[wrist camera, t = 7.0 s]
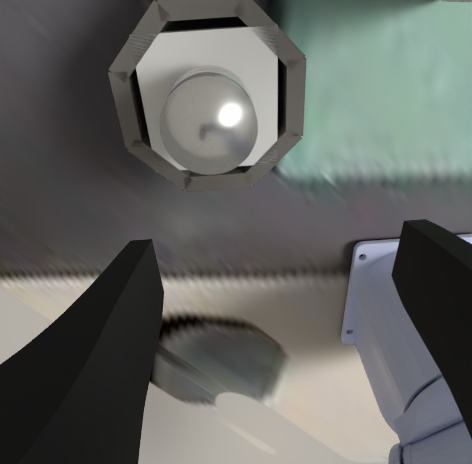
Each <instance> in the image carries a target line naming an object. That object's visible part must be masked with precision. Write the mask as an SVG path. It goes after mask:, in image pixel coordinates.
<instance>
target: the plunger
mask: <svg viewBox="0 0 472 464" xmlns="http://www.w3.org/2000/svg"><path fill="white" fill-rule="evenodd" d="M159 129H160V135H161V139H162V142H163V145H164V147H165V148H166V150H167V152H168V153H169V155H170V156H171V157H172V158H173V159H174V160H175V161H176V162H177V163H178V164H179V165H181V166H182V167H184V168H186V169H188V170H190V171H192V172H195V173H199V174H205V175H215V174H221V173H225V172H228V171H230V170H232V169H234V168H236V167H237V166H239V165H240V164H241V163H242V162H244V161H245V160H246V158H247V157H248V156H249V155H250V153H251V151H252V150H253V148H254V145H255V142H256V139H257V134H258V122H257V116H256V112H255V109H254V105H253V101H252V98H251V95H250V92H249V90H248V88H247V87H246V85H245V84H244V82H243V81H242V80H241V79H240V78H239V77H238V76H237V75H235V74H234V73H232V72H231V71H229V70H227V69H225V68H222V67H218V66H199V67H196V68H193V69H191V70H189V71H187V72H186V73H184V74H183V75H182V76H180V77H179V78H178V80H177V81H176V82H175V83H174V85H173V86H172V88H171V90H170V93H169V95H168V97H167V99H166V101H165V103H164V106H163V108H162V111H161V114H160V120H159Z"/></svg>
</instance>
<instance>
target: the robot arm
mask: <svg viewBox="0 0 472 464" xmlns="http://www.w3.org/2000/svg"><path fill="white" fill-rule="evenodd" d="M361 254H364V255H363V256H361V257H359V256H360V255H361ZM163 299H164V290H163V286H162V281H161V277H160V273H159V268H158V264H157V260H156V255H155V251H154V247H153V242H152V239H148V240H134V241H130V242H129V243H128V244H127V245H126V246H125V247H124V249H123V250H122V251H121V252H120V253H119V254H118V255H117V257H116V258H115V259H114V260H113V261H112V262H111V263H110V265H109V266H108V267H107V268H106V269H105V270H104V271H103V273H102V274H101V275H100V276H99V277H98V278H97V279H96V280H95V281H94V282H93V283H92V285H91V286H90V287H89V288H88V289H87V290H86V291H85V292H84V293H83V294H82V295H81V296H80V297H79V298H78V299H77V300H76V301H75V302H74V303H73V304H72V305H71V306H70V307H69V308H68V309H67V310H66V311H65V312H64V313H63V314H62V315H61V316H60V317H59V318H58V319H56V320H55V321H54V322H53V323H52V324H51V325H50V326H49V327H48V328H46V329H45V330H44V331H43V332H42V333H40V334H39V335H38V336H37V337H36V338H34V339H33V340H32V341H31V342H30V343H28V344H27V345H26V346H25V347H23V348H22V349H21V350H19V351H18V352H17V353H15V354H14V355H13V356H11V357H10V358H9V359H7V360H6V361H5V362H3V363H2V364H0V464H138V459H139V448H140V439H141V430H142V420H143V412H144V406H145V400H146V395H147V390H148V385H149V380H150V376H151V371H152V366H153V362H154V357H155V352H156V348H157V343H158V338H159V333H160V328H161V323H162V312H163ZM341 341H342V343H343V344H345V345H353V344H356V347H357V350H358V353H359V355H360V358H361V361H362V363H363V366H364V369H365V371H366V374H367V377H368V379H369V382H370V385H371V387H372V390H373V393H374V395H375V398H376V401H377V404H378V406H379V409H380V411H381V413H382V415H383V418H384V419H385V421H386V422H387V424H388V425H389V426H390V427H391V429H392V430H393V431H394V432H395V433H396V434H397V435H398V437H399V440H400V443H398V444H396V445H394V446H393V447H392V448H391V450H390V453H389V463H388V464H472V234H463V235H455V234H453V233H451V232H449V231H448V230H446V229H444V228H442V227H440V226H438V225H436V224H434V223H432V222H430V221H428V220H426V219H424V220H410V221H404V223H403V228H402V232H401V236H400V239H389V240H375V241H362V242H359V243H357V244H356V245H355V247H354V251H353V258H352V264H351V271H350V278H349V284H348V291H347V298H346V305H345V311H344V318H343V325H342V332H341Z"/></svg>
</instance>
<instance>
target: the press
mask: <svg viewBox="0 0 472 464" xmlns="http://www.w3.org/2000/svg"><path fill="white" fill-rule="evenodd" d="M199 66H218V67H222V68H225V69H227V70H229V71H231V72H232V73H234V74H235V75H237V76H238V77H239V78H240V79H241V80H242V81H243V82H244V84H245V85H246V87H247V88H248V90H249V92H250V95H251V98H252V101H253V105H254V109H255V112H256V116H257V122H258V134H257V139H256V142H255V145H254V148H253V150H252V151H251V153H250V155H249V156H248V157H247V158H246V160H245V161H244V162H242V163H241V164H240V165H239V166H237V167H236V168H234V169H232V170H230V171H228V172H225V173H221V174H215V175H205V174H199V173H195V172H192V171H190V170H188V169H186V168H184V167H182V166H181V165H179V164H178V163H177V162H176V161H175V160H174V159H173V158H172V157H171V156H170V155H169V153H168V152H167V150H166V148H165V147H164V145H163V142H162V139H161V135H160V129H159V120H160V114H161V111H162V108H163V106H164V103H165V101H166V99H167V97H168V95H169V93H170V90H171V88H172V86H173V85H174V83H175V82H176V81H177V80H178V78H179V77H180V76H182V75H183V74H184V73H186V72H187V71H189V70H191V69H193V68H196V67H199ZM108 70H110V71H109V72H108V75H109V80H110V84H111V88H112V92H113V97H114V101H115V105H116V109H117V114H118V118H119V122H120V126H121V130H122V135H123V139H124V143H125V147H126V148H128V150H127V151H129V152H130V153H132V154H133V155H134V156H136V157H137V158H139V159H140V160H141V161H143V162H144V163H145V164H147V165H148V166H150V167H151V168H152V169H154V170H155V171H156V172H158V173H159V174H161V175H162V176H163V177H165V178H166V179H168V180H169V181H170V182H172V183H173V184H175V185H176V186H177V187H179V188H180V189H181V190H183V191H184V190H185V189H186V192H191V191H205V190H220V189H234V188H249V187H251V185H253V186H254V185H255V184H256V183H257V182H258V181H259V180H260V179H261V178H262V177H263V176H264V175H265V174H266V173H267V172H268V171H269V170H270V169H271V168H272V167H274V166H275V165H276V164H277V163H278V162H279V161H280V160H281V159H282V158H283V157H284V156H285V155H286V154H287V153H288V152H289V151H290V150H291V149H292V148H293V147H294V146H295V145H296V144H297V143H298V142H299V141H300V140H301V139H302V138H301V136H303V123H304V100H305V77H306V58H305V55H304V54H303V53H302V52H301V51H300V50H299V49H298V47H297V46H296V45H295V44H294V43H293V42H292V41H291V40H290V39H289V38H288V37H287V36H286V35H285V34H284V32H283V31H282V30H281V29H280V28H279V27H278V25H277V24H275V23H274V22H273V21H272V20H271V18H270V17H269V16H268V15H267V14H266V13H265V12H264V11H263V10H262V9H261V8H260V7H259V6H258V5H257V3H256V2H255V1H254V0H153V2H152V3H151V5H150V7H149V8H148V10H147V11H146V13H145V14H144V16H143V17H142V19H141V20H140V22H139V23H138V25H137V26H136V28H135V29H134V31H133V33H132V34H131V35H130V37H129V39H128V40H127V42H126V43H125V45H124V46H123V48H122V49H121V51H120V52H119V54H118V56H117V57H116V59H115V60H114V62H113V63H112V65H111V66H110V68H109V69H108Z"/></svg>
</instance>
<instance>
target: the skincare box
mask: <svg viewBox="0 0 472 464" xmlns="http://www.w3.org/2000/svg"><path fill="white" fill-rule="evenodd" d="M442 1H447V2H472V0H442Z"/></svg>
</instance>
